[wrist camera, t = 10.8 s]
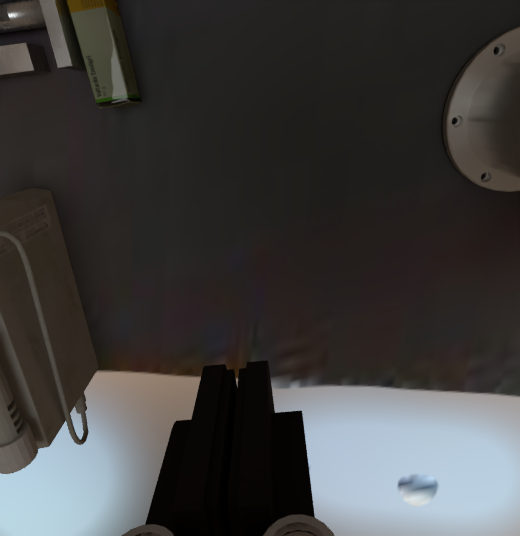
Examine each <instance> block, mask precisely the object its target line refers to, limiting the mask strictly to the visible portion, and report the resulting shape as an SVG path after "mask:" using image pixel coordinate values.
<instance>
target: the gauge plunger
mask: <svg viewBox="0 0 520 536" xmlns="http://www.w3.org/2000/svg"><path fill="white" fill-rule="evenodd" d="M44 27H47V30H48V33H49V37H50V40H51V44H52V48H53V51H54V55H55V58H56V62H57V66H58V68H64V69H71V70H78V71H84V72H85V71H87V69H86V66H85V62H84V59H83V55H82V52H81V48H80V45H79V41H78V38H77V34H76V31H75V28H74V24H73V21H72V17H71V14H70V10H69V7H68V4H67V0H19V1H12V2H5V3H0V33H7V32H15V31H22V30H29V29H36V28H44Z"/></svg>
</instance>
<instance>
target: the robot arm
mask: <svg viewBox="0 0 520 536" xmlns="http://www.w3.org/2000/svg"><path fill="white" fill-rule="evenodd" d="M494 48H495V49H496V53H495V54H494ZM453 118H455V122H454V123H453V124H452V119H453ZM442 128H443V141H444V144H445V148H446V151H447V154H448V156H449V158H450V160H451V162H452V163H453V165H454V166H455V168H456V169H457V170H458V171H459V172H460V173H461V174H462V175H463V176H464V177H466V178H467V179H468V180H470V181H471V182H473V183H475V184H477V185H479V186H482V187H484V188H488V189H491V190H495V191H505V192H513V191H520V27H517V28H514V29H511V30H509V31H507V32H505V33H503V34H501V35H499V36H498V37H496V38H494V39H492V40H491V41H490V42H488V43H487V44H486V45H485V46H483V47H482V48H481V49H480V50H478V51H477V52H476V53H475V55H474V56H473V57H472V58H471V59H470V60H469V61H468V62H467V63H466V64H465V66H464V67H463V69H462V70H461V72H460V73H459V75H458V76H457V78H456V79H455V82H454V84H453V86H452V88H451V90H450V92H449V94H448V98H447V101H446V105H445V108H444V115H443V124H442ZM482 174H483V177H482V178H481V175H482ZM122 536H334V534H333V532H332V531H331V530H330V529H329V528H328V527H327V526H326V525H325V524H324V523H323V522H321V521H319V520H318V519H316V518H315V517H314V508H313V500H312V492H311V484H310V475H309V467H308V458H307V450H306V442H305V433H304V425H303V417H302V411H293V412H280V413H275V411H274V403H273V396H272V387H271V379H270V372H269V364H268V361H257V362H247V368H242V369H239V377H238V387H237V384H236V378H235V373H234V370H233V369H231V370H227V368H226V365H225V364H223V365H212V366H204V368H203V371H202V376H201V381H200V385H199V389H198V393H197V398H196V402H195V407H194V411H193V415H192V420H181V421H176V422H175V423H174V425H173V428H172V431H171V435H170V438H169V442H168V446H167V449H166V452H165V456H164V460H163V463H162V467H161V470H160V474H159V477H158V481H157V485H156V488H155V492H154V495H153V499H152V502H151V506H150V510H149V513H148V517H147V520H146V524H145V525H142V526H139V527H137V528H134V529H131V530H130V531H128V532H127V533H125V534H124V535H122Z"/></svg>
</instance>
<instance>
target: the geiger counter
mask: <svg viewBox="0 0 520 536" xmlns="http://www.w3.org/2000/svg"><path fill="white" fill-rule="evenodd" d="M98 368H99V366H98V362H97V359H96V355H95V351H94V347H93V344H92V340H91V336H90V333H89V329H88V325H87V322H86V318H85V314H84V311H83V307H82V303H81V299H80V296H79V292H78V288H77V285H76V281H75V277H74V274H73V270H72V266H71V262H70V259H69V255H68V251H67V248H66V244H65V240H64V237H63V233H62V229H61V226H60V222H59V218H58V214H57V211H56V207H55V203H54V200H53V196H52V192H51V190H47V189H40V188H30V189H26V190H23V191H19V192H16V193H13V194H11V195H8V196H5V197H3V198H0V473H2V474H10V473H14V472H17V471H19V470H21V469H23V468H25V467H26V466H27V465H29V464H30V463H31V462H32V461H33V460H34V458H35V457H36V455H37V453H38V449H39V448H44V447H49V446H50V444H51V443H52V441H53V440H54V438H55V437H56V435H57V433H58V432H59V430H60V429H61V427H62V425H63V424H64V422H65V421H66V422H67V426H68V429H69V431H70V434H71V437H72V439H73V440H74V442H75V443H76V444H79V445H81V444H83V443H84V442H85V441H86V439H87V435H88V427H87V419H86V414H85V411H86V410H87V407H86V403H85V401H86V398H85V395H84V390H85V389H86V387H87V385H88V384H89V382H90V381H91V379H92V377H93V376H94V374H95V373H96V371H97V370H98ZM74 406H75V408H76V411H77V413H79V414H80V413H81V417H82V423H83V431H84V433H83V437H82V439H81V440H80V439H79V438H78V437H77V435H76V433H75V430H74V427H73V423H72V419H71V415H70V412H71V411H72V409H73V408H74Z"/></svg>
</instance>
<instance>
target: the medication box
mask: <svg viewBox="0 0 520 536" xmlns="http://www.w3.org/2000/svg"><path fill="white" fill-rule="evenodd" d="M67 4H68V7H69V10H70V14H71V17H72V21H73V24H74V28H75V31H76V34H77V38H78V41H79V45H80V48H81V52H82V55H83V59H84V62H85V66H86V69H87V73H88V76H89V80H90V83H91V87H92V90H93V94H94V97H95V100H96V103H97V106H98V108H100V109H101V108H121V107H130V106H133V105H136V104H139V103H141V99H140V95H139V91H138V87H137V83H136V78H135V74H134V70H133V66H132V62H131V58H130V54H129V50H128V46H127V41H126V37H125V34H124V30H123V26H122V22H121V18H120V13H119V9H118V5H117V1H116V0H67Z"/></svg>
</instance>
